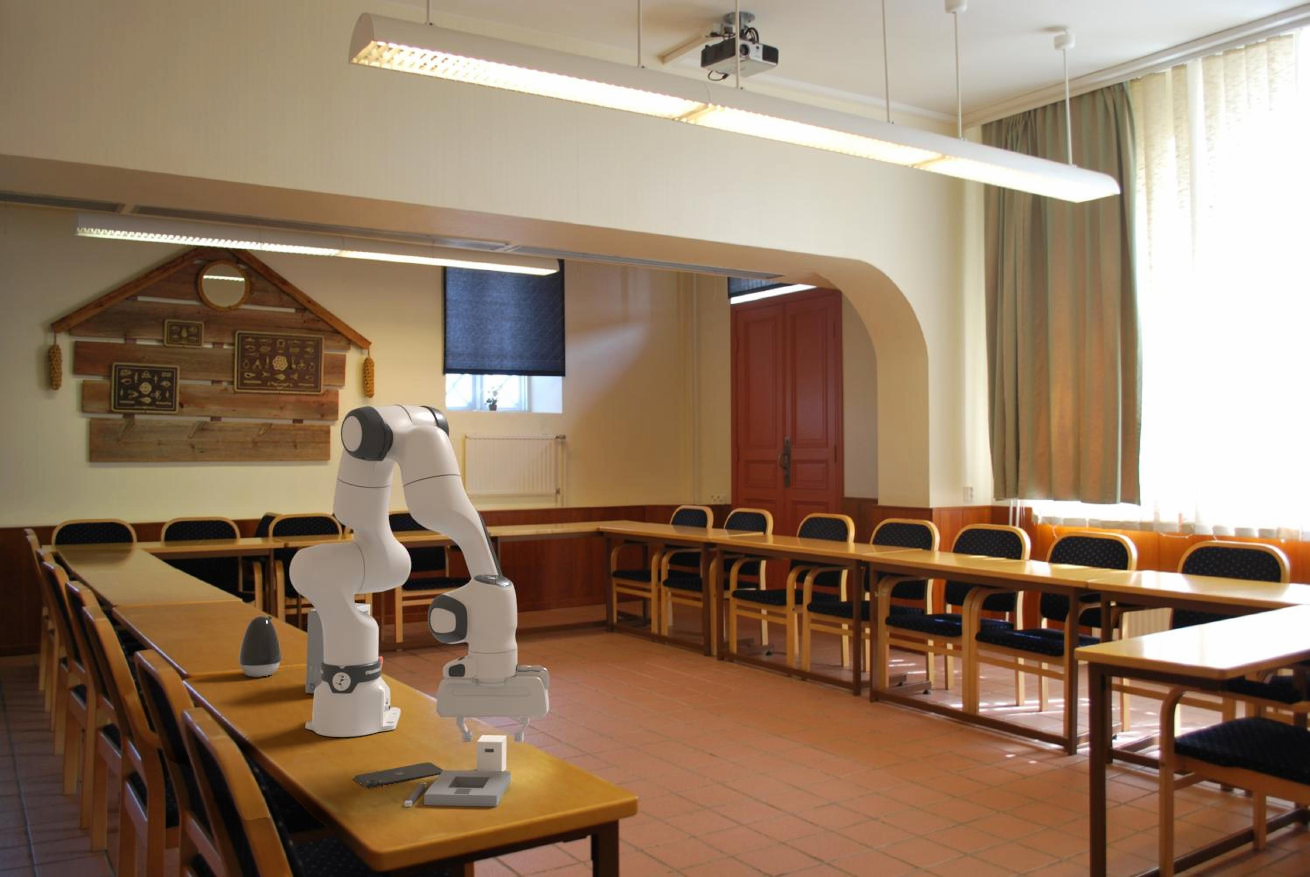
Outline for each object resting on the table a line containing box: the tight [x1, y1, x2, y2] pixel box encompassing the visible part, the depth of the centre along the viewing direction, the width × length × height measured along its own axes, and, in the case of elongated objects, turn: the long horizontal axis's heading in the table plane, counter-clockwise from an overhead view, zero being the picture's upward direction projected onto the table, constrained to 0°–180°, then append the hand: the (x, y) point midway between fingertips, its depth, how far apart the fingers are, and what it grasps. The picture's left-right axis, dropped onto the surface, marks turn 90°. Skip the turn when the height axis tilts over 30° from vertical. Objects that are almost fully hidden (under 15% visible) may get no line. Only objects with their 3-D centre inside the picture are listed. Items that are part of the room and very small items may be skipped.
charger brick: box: [476, 734, 507, 771], centre depth 190 cm, size 5×4×6 cm
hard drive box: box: [305, 602, 371, 695], centre depth 254 cm, size 16×8×20 cm, turn 161°
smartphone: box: [353, 762, 444, 789], centre depth 187 cm, size 7×1×15 cm
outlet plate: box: [423, 769, 512, 807], centre depth 178 cm, size 13×12×2 cm
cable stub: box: [403, 782, 428, 808], centre depth 176 cm, size 10×1×1 cm, turn 178°
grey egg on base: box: [238, 615, 282, 678], centre depth 268 cm, size 10×10×15 cm
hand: (493, 741), depth 189 cm, fingers open, 8 cm apart
